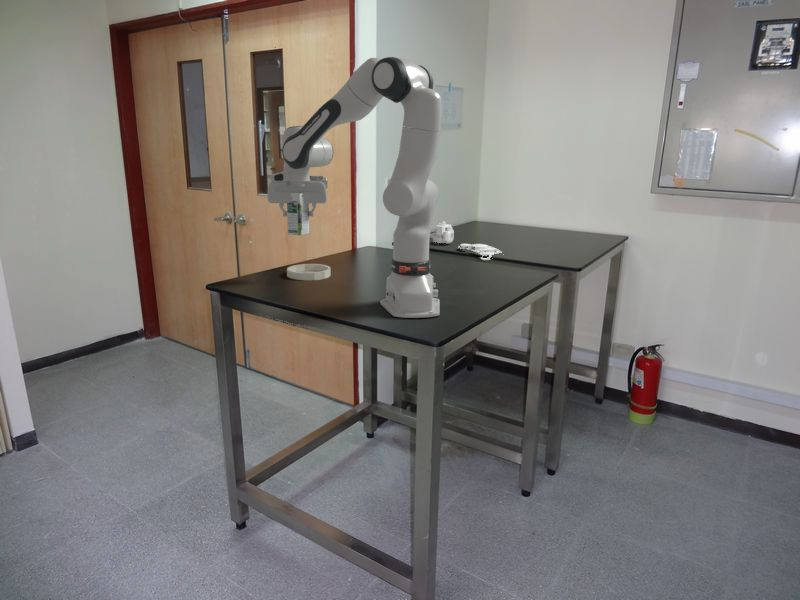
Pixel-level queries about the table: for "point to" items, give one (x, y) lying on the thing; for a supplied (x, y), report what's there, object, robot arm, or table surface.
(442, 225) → the mechanical part
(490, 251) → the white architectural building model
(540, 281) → the table surface
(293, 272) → the round bowl
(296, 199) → the syrup box
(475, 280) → the table surface
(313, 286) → the table surface
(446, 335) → the table surface
